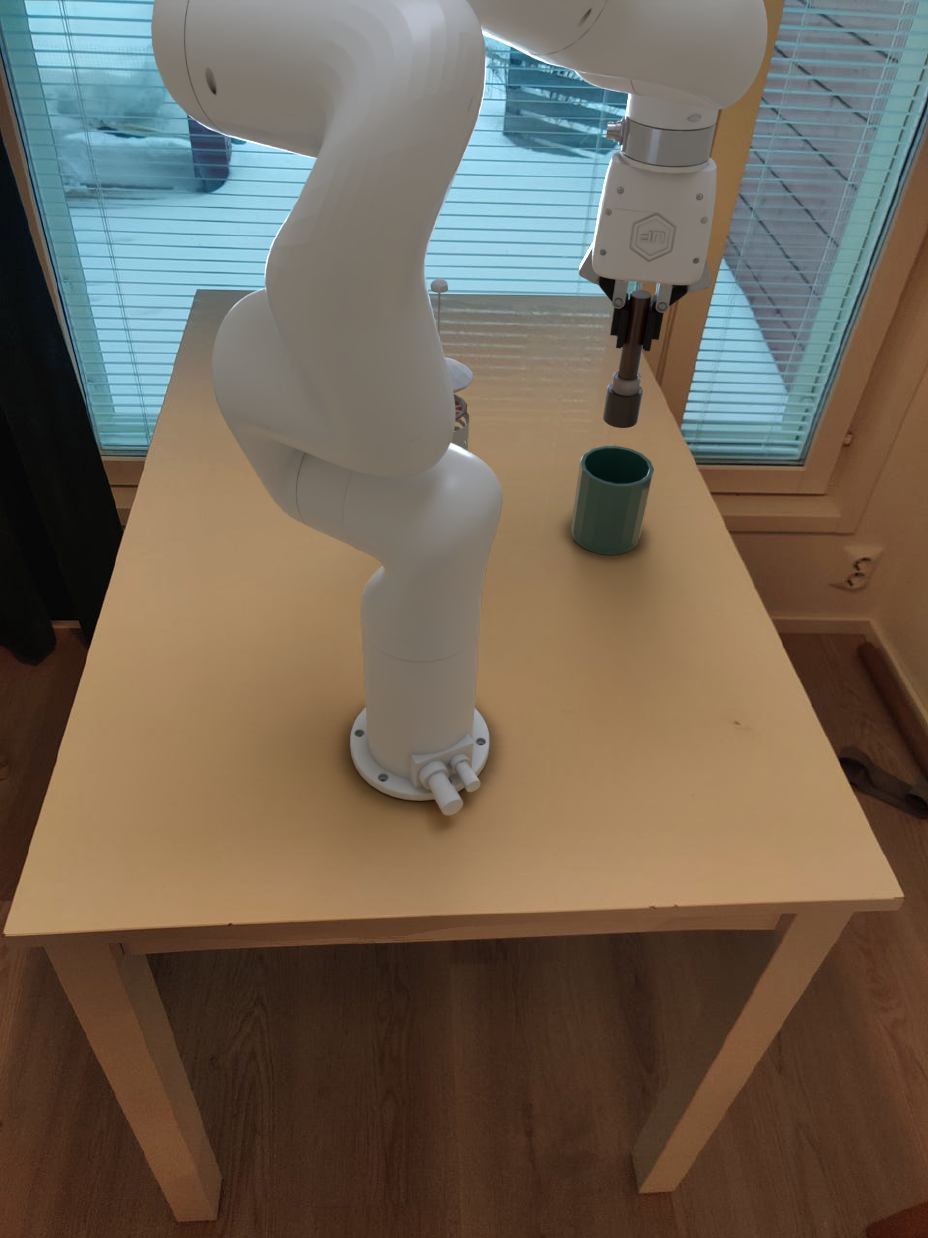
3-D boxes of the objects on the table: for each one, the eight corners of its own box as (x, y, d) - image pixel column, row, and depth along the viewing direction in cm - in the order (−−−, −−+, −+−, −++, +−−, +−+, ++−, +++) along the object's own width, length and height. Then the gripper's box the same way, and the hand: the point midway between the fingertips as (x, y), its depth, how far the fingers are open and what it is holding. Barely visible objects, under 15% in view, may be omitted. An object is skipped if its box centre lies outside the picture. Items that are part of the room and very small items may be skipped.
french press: (421, 505, 112) (423, 305, 95) (376, 458, 119) (369, 264, 102) (490, 482, 116) (502, 286, 99) (442, 439, 123) (446, 249, 106)
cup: (652, 544, 108) (667, 475, 102) (594, 562, 105) (606, 492, 99) (614, 507, 113) (626, 439, 107) (558, 523, 110) (567, 454, 104)
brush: (644, 419, 98) (667, 294, 88) (623, 432, 96) (645, 305, 86) (616, 406, 99) (636, 282, 90) (596, 418, 97) (614, 293, 88)
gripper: (570, 147, 77) (549, 353, 90) (765, 163, 76) (716, 369, 88) (576, 121, 83) (555, 319, 95) (758, 136, 81) (712, 334, 94)
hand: (633, 342), depth 92 cm, fingers closed on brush, 2 cm apart
